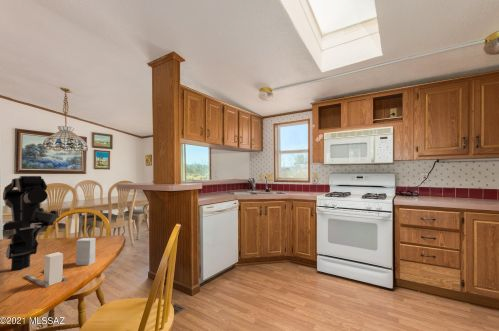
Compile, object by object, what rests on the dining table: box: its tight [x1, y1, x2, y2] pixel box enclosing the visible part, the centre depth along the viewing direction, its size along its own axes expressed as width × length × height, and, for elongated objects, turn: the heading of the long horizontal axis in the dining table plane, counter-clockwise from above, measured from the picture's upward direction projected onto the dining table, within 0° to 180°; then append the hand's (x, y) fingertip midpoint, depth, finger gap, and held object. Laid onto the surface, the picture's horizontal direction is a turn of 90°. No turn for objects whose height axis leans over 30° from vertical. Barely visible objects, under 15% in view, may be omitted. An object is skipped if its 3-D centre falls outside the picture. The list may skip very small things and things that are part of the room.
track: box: [24, 268, 68, 289], centre depth 89 cm, size 17×7×2 cm, turn 62°
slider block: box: [43, 251, 64, 286], centre depth 86 cm, size 4×4×10 cm
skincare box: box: [75, 237, 97, 266], centre depth 104 cm, size 6×4×12 cm
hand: (30, 246), depth 91 cm, fingers closed
